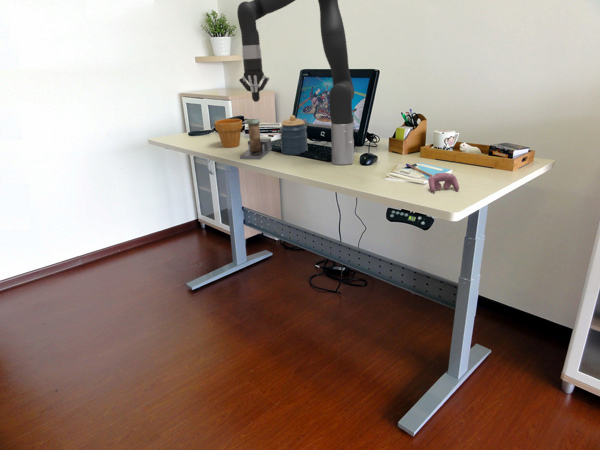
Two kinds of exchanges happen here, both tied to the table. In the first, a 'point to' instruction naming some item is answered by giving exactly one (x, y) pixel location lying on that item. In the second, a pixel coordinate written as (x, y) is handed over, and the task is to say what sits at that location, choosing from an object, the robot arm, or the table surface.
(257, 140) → the brown capped cylinder
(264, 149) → the mount
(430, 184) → the video game controller
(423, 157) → the table surface
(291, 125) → the canister
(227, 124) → the flower pot
